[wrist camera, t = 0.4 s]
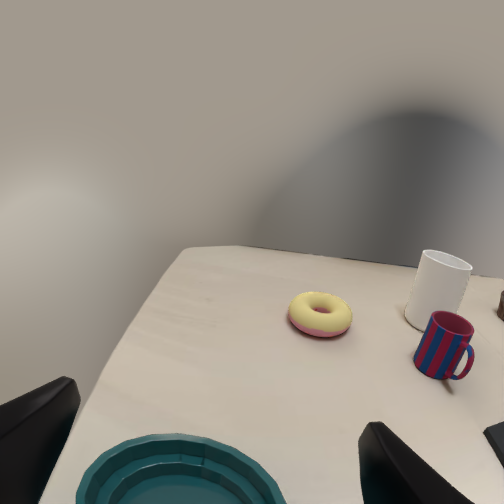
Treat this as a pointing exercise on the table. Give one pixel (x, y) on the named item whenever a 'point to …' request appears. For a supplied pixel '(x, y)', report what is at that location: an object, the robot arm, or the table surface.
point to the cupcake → (501, 307)
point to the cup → (445, 346)
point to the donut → (320, 314)
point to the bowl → (176, 474)
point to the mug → (436, 287)
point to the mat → (496, 439)
